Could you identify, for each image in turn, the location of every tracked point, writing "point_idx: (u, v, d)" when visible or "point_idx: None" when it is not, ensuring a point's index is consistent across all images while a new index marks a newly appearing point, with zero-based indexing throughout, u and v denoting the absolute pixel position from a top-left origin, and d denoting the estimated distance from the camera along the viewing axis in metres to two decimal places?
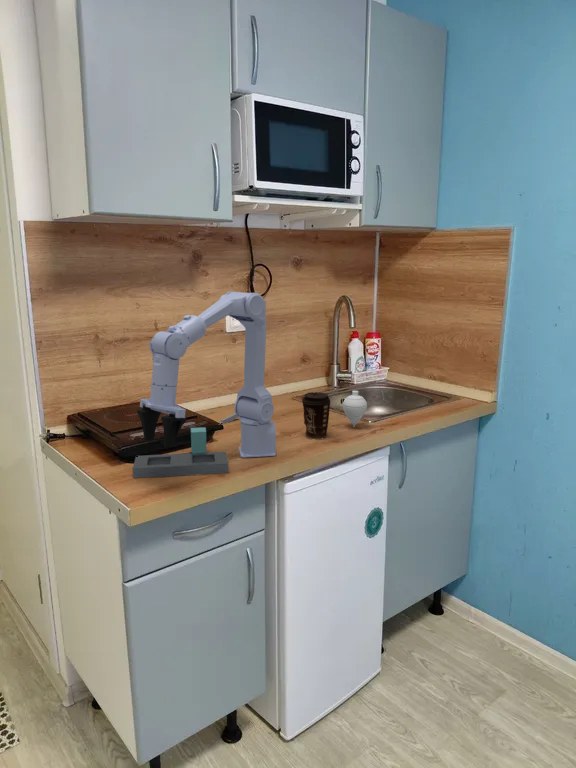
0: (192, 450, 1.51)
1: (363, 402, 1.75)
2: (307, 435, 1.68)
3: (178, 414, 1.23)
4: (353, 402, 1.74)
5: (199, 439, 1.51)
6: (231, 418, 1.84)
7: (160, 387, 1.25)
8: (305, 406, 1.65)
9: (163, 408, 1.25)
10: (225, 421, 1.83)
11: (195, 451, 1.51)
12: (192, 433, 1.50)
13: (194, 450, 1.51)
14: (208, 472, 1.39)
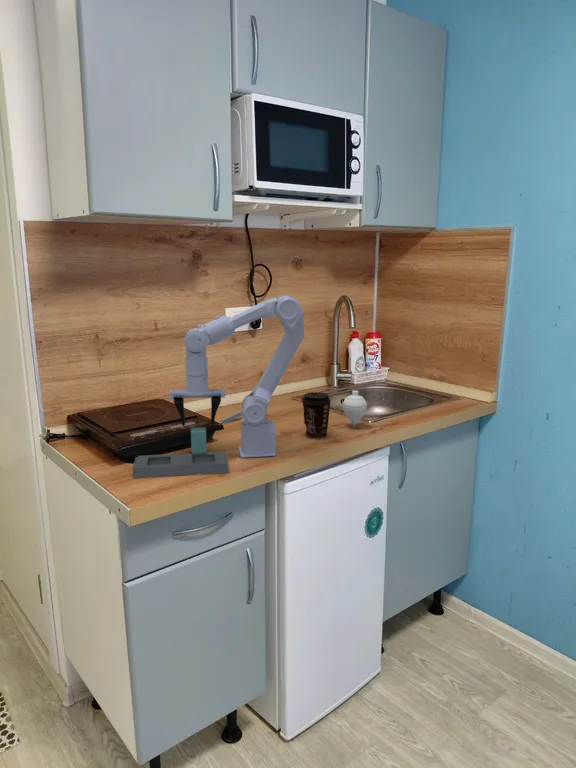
0: (192, 450, 1.51)
1: (363, 402, 1.75)
2: (307, 435, 1.68)
3: None
4: (353, 402, 1.74)
5: (199, 439, 1.51)
6: (231, 418, 1.84)
7: None
8: (305, 406, 1.65)
9: None
10: (225, 421, 1.83)
11: (195, 451, 1.51)
12: (192, 433, 1.50)
13: (194, 450, 1.51)
14: (208, 472, 1.39)
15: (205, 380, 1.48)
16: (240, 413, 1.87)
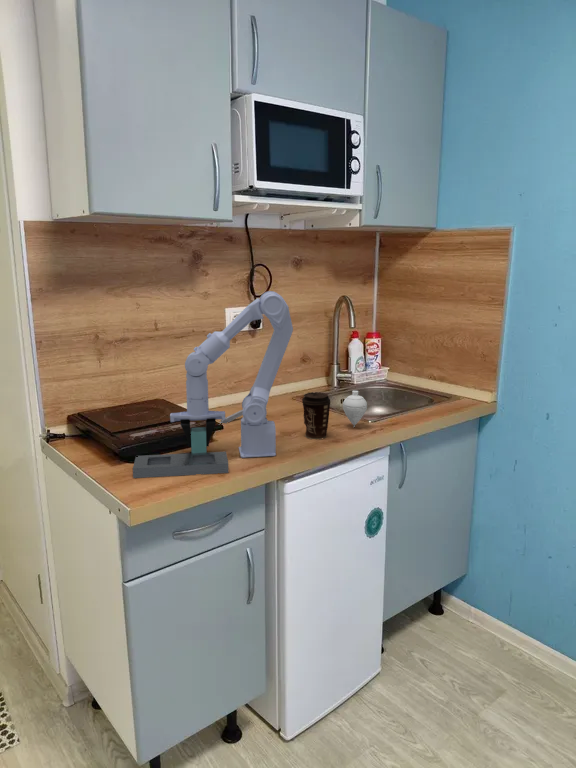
0: (192, 450, 1.51)
1: (363, 402, 1.75)
2: (307, 435, 1.68)
3: None
4: (353, 402, 1.74)
5: (199, 439, 1.51)
6: (231, 418, 1.84)
7: None
8: (305, 406, 1.65)
9: None
10: (225, 421, 1.83)
11: (195, 451, 1.51)
12: (192, 433, 1.50)
13: (194, 450, 1.51)
14: (208, 472, 1.39)
15: (206, 403, 1.49)
16: (240, 413, 1.87)
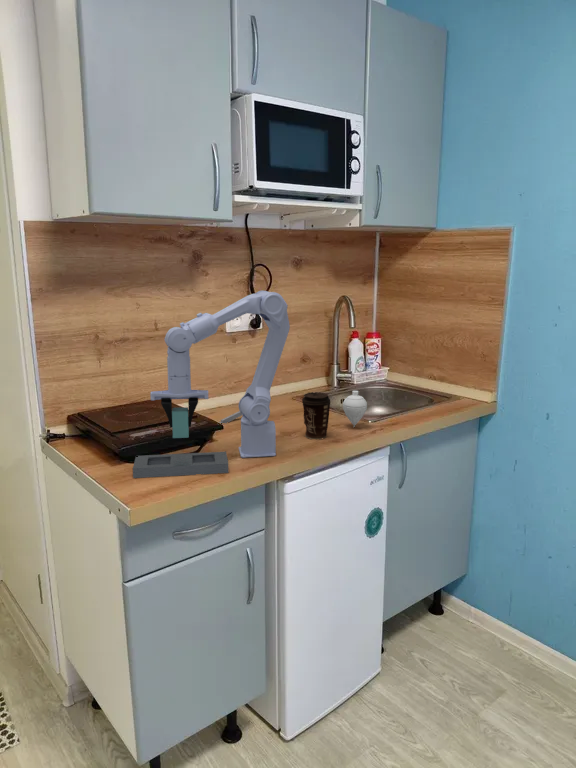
0: (173, 430, 1.44)
1: (363, 402, 1.75)
2: (307, 435, 1.68)
3: None
4: (353, 402, 1.74)
5: (180, 419, 1.44)
6: (231, 418, 1.84)
7: None
8: (305, 406, 1.65)
9: None
10: (225, 421, 1.83)
11: (176, 432, 1.44)
12: (173, 413, 1.43)
13: (175, 430, 1.44)
14: (208, 472, 1.39)
15: (187, 381, 1.42)
16: (240, 413, 1.87)
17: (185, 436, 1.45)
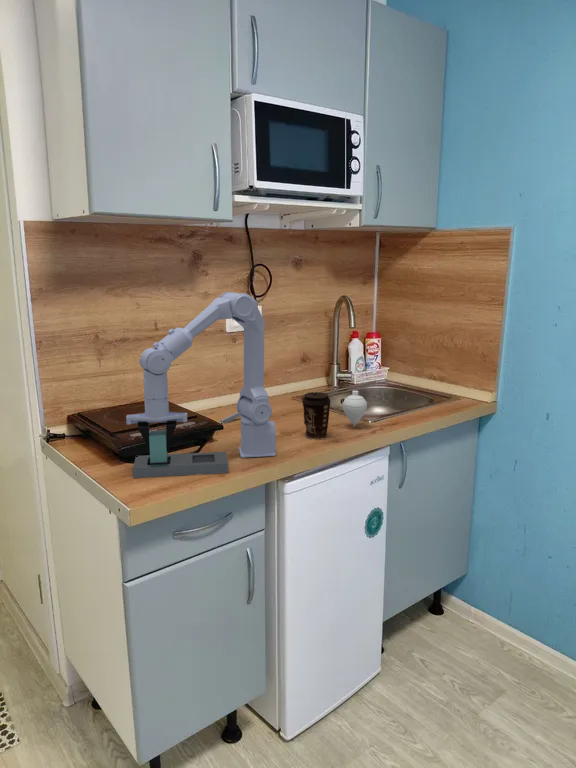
0: (151, 455, 1.39)
1: (363, 402, 1.75)
2: (307, 435, 1.68)
3: None
4: (353, 402, 1.74)
5: (158, 443, 1.38)
6: (231, 418, 1.84)
7: None
8: (305, 406, 1.65)
9: None
10: (225, 421, 1.83)
11: (154, 456, 1.39)
12: (150, 437, 1.38)
13: (152, 455, 1.39)
14: (208, 472, 1.39)
15: (165, 404, 1.37)
16: None
17: (163, 461, 1.39)
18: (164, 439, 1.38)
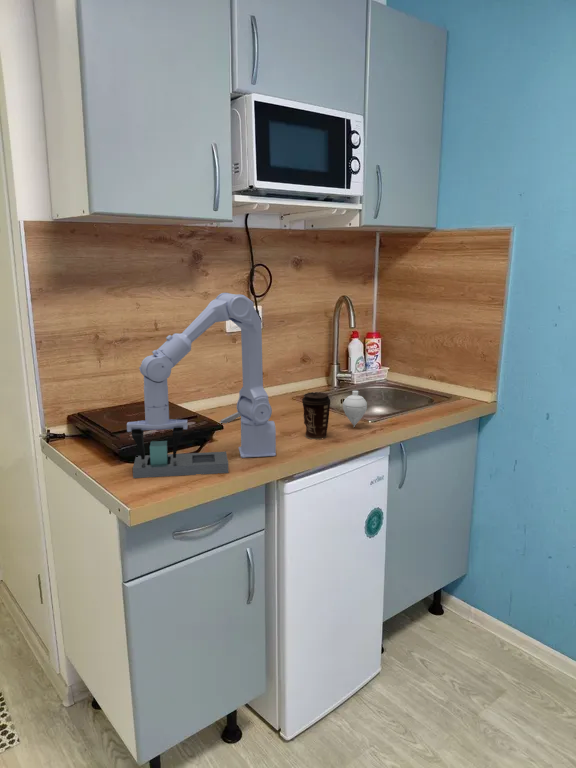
0: None
1: (363, 402, 1.75)
2: (307, 435, 1.68)
3: None
4: (353, 402, 1.74)
5: (158, 454, 1.39)
6: (231, 418, 1.84)
7: None
8: (305, 406, 1.65)
9: None
10: (225, 421, 1.83)
11: None
12: (151, 447, 1.38)
13: None
14: (208, 472, 1.39)
15: (165, 411, 1.37)
16: None
17: None
18: (165, 450, 1.39)
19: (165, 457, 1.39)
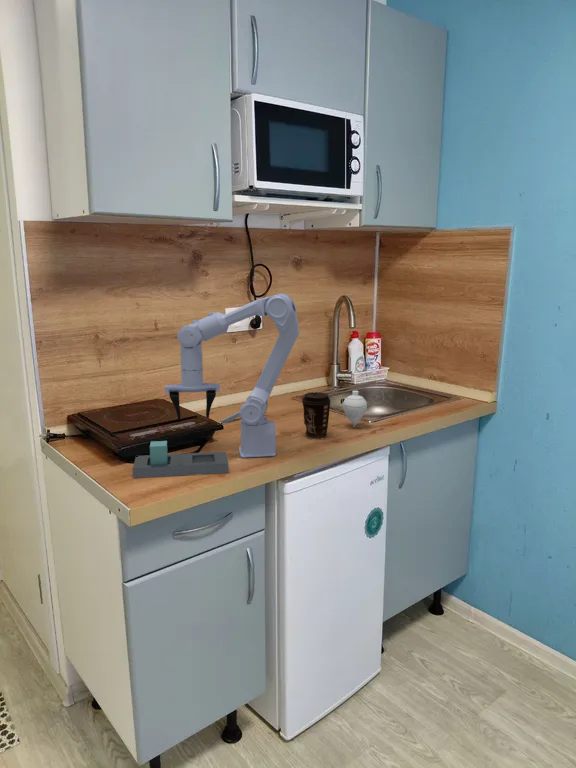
0: None
1: (363, 402, 1.75)
2: (307, 435, 1.68)
3: None
4: (353, 402, 1.74)
5: (158, 454, 1.39)
6: (231, 418, 1.84)
7: None
8: (305, 406, 1.65)
9: None
10: (225, 421, 1.82)
11: None
12: (151, 447, 1.38)
13: None
14: (208, 472, 1.39)
15: (200, 374, 1.51)
16: None
17: None
18: (165, 450, 1.39)
19: (165, 457, 1.39)
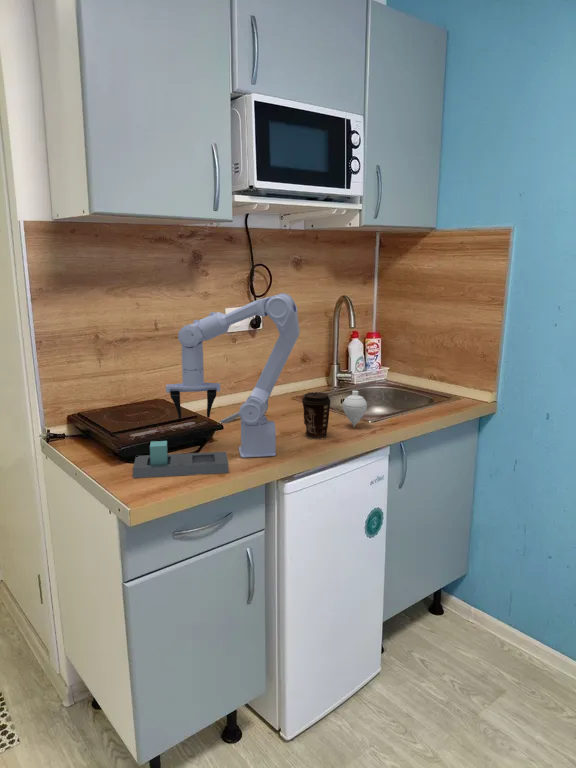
0: None
1: (363, 402, 1.75)
2: (307, 435, 1.68)
3: None
4: (353, 402, 1.74)
5: (158, 454, 1.39)
6: (231, 418, 1.84)
7: None
8: (305, 406, 1.65)
9: None
10: (225, 421, 1.82)
11: None
12: (151, 447, 1.38)
13: None
14: (208, 472, 1.39)
15: (201, 374, 1.51)
16: None
17: None
18: (165, 450, 1.39)
19: (165, 457, 1.39)
